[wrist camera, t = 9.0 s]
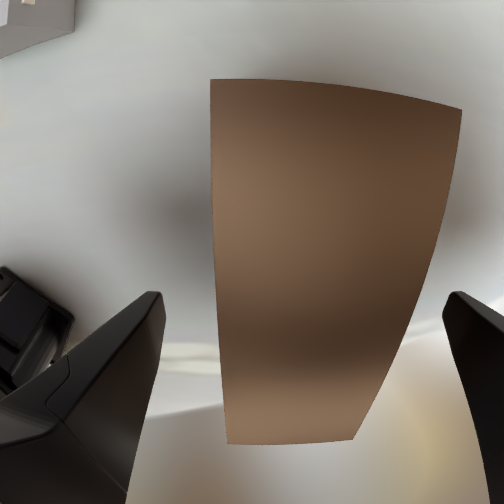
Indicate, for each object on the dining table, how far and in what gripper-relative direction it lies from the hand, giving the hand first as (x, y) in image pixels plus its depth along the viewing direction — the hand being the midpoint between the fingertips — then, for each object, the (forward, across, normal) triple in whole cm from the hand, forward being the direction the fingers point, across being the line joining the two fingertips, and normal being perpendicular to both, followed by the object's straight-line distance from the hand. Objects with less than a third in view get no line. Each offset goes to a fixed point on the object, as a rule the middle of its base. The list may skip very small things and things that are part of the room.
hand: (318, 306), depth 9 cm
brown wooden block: (+7, 0, 0) cm, 7 cm away
